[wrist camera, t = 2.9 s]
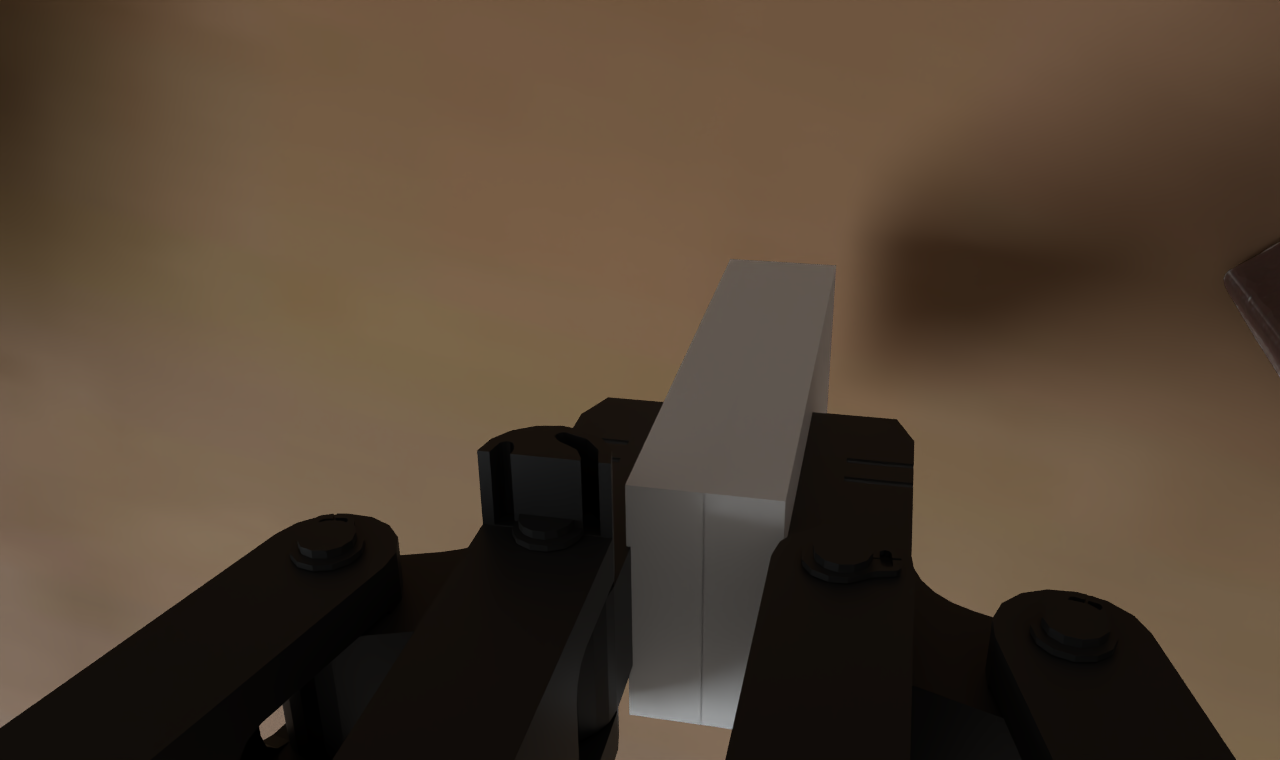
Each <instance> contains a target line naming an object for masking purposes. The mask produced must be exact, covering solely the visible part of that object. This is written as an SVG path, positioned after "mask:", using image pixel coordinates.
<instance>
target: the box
mask: <svg viewBox="0 0 1280 760" xmlns="http://www.w3.org/2000/svg"><path fill="white" fill-rule="evenodd" d="M1224 284H1225V287H1226V289H1227V291H1228V293H1229V295H1230V297H1231V298H1232V300H1233V302H1234V303H1235V305H1236V307H1237V308H1238V310H1239V312H1240V313H1241V315H1242V317H1243V318H1244V320H1245V322H1246V324H1247V325H1248V327H1249V329H1250V330H1251V332H1252V334H1253V335H1254V337H1255V339H1256V340H1257V342H1258V343H1259V345H1260V347H1261V348H1262V350H1263V351H1264V353H1265V355H1266V356H1267V358H1268V359H1269V361H1270V362H1271V364H1272V366H1273V367H1274V369H1275V370H1276V372H1277V374H1278V375H1279V377H1280V242H1279V243H1277V244H1274V245H1272V246H1271V247H1269V248H1268V249H1266V250H1264V251H1263V252H1262V253H1260V254H1259V255H1257V256H1255V257H1253V258H1251V259H1249V260H1247V261H1245V262H1243V263H1242V264H1240V265H1238V266H1236V267H1234V268H1232V269H1231V270H1229V271H1228V272H1227V273H1226V274H1225V277H1224Z"/></svg>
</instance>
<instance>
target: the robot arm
mask: <svg viewBox="0 0 1280 760" xmlns="http://www.w3.org/2000/svg"><path fill="white" fill-rule="evenodd" d="M835 275H836V265H820V264H804V263H787V262H771V261H755V260H738V259H730V261H729V263H728V265H727V267H726V270H725V272H724V274H723V276H722V278H721V280H720V282H719V285H718V287H717V289H716V291H715V293H714V295H713V298H712V300H711V302H710V304H709V306H708V308H707V310H706V313H705V315H704V317H703V319H702V321H701V323H700V325H699V328H698V330H697V332H696V334H695V336H694V338H693V340H692V343H691V345H690V347H689V349H688V351H687V353H686V355H685V358H684V360H683V362H682V364H681V366H680V368H679V370H678V373H677V375H676V377H675V379H674V381H673V383H672V385H671V388H670V390H669V392H668V394H667V396H666V398H665V400H664V402H655V401H643V400H632V399H620V398H609V397H608V398H607V399H605V400H603V401H602V402H600V403H599V404H597V405H595V406H594V407H592V408H591V409H589V410H587V411H586V412H584V413H582V414H581V416H580V417H579V419H578V421H577V422H576V424H575V426H574V427H573V428H570V427H565V426H533V427H528V428H522V429H517V430H512V431H509V432H507V433H504V434H502V435H499V436H497V437H495V438H492V439H490V440H489V441H488V442H487V443H486V444H484V445H483V446H482V447H481V448H480V449H479V450H477V454H478V466H479V479H480V491H481V504H482V517H483V525H482V527H481V528H480V530H479V531H478V533H477V534H476V536H475V538H474V539H473V541H472V542H471V544H470V545H469V547H468V548H465V549H459V550H453V551H446V552H436V553H424V554H411V555H400V551H399V542H398V537H397V535H396V534H395V533H394V531H393V530H392V528H391V527H390V526H389V525H388V524H386V523H383V522H381V521H379V520H377V519H375V518H373V517H368V516H361V515H353V514H337V515H334V514H329V515H321V516H318V517H316V518H313V519H309V520H306V521H302V522H298V523H296V524H294V525H292V526H290V527H288V528H286V529H284V530H282V531H281V532H279V533H277V534H275V535H274V536H272V537H271V538H269V539H268V540H267V541H265V542H264V543H262V544H261V545H259V546H258V547H257V548H255V549H254V550H252V551H251V552H249V553H248V554H247V555H245V556H244V557H242V558H241V559H240V560H238V561H237V562H235V563H234V564H232V565H231V566H230V567H228V568H227V569H225V570H224V571H223V572H221V573H220V574H218V575H217V576H215V577H214V578H213V579H211V580H210V581H208V582H207V583H206V584H204V585H203V586H201V587H200V588H198V589H197V590H196V591H194V592H193V593H191V594H190V595H188V596H187V597H186V598H184V599H183V600H181V601H180V602H179V603H177V604H176V605H174V606H173V607H171V608H170V609H169V610H167V611H166V612H164V613H163V614H162V615H160V616H159V617H157V618H156V619H154V620H153V621H152V622H150V623H149V624H147V625H146V626H145V627H143V628H142V629H140V630H139V631H137V632H136V633H135V634H133V635H132V636H130V637H129V638H127V639H126V640H125V641H123V642H122V643H120V644H119V645H118V646H116V647H115V648H113V649H112V650H110V651H109V652H108V653H106V654H105V655H103V656H102V657H101V658H99V659H98V660H96V661H95V662H93V663H92V664H91V665H89V666H88V667H86V668H85V669H84V670H82V671H81V672H79V673H78V674H76V675H75V676H74V677H72V678H71V679H69V680H68V681H66V682H65V683H64V684H62V685H61V686H59V687H58V688H57V689H55V690H54V691H52V692H51V693H49V694H48V695H47V696H45V697H44V698H42V699H41V700H40V701H38V702H37V703H35V704H34V705H32V706H31V707H30V708H28V709H27V710H25V711H24V712H23V713H21V714H20V715H18V716H17V717H15V718H14V719H13V720H11V721H10V722H8V723H7V724H5V725H4V726H3V727H1V728H0V760H615V757H616V754H617V751H618V740H619V718H618V706H619V703H620V700H621V697H622V695H623V692H624V689H625V686H626V683H627V680H628V678H629V710H630V715H637V716H644V717H651V718H658V719H665V720H672V721H679V722H686V723H693V724H700V725H707V726H713V727H720V728H727V729H732V733H731V737H730V742H729V746H728V751H727V755H726V760H1236V759H1235V757H1234V756H1233V754H1232V753H1231V751H1230V750H1229V748H1228V747H1227V745H1226V744H1225V742H1224V741H1223V739H1222V738H1221V736H1220V735H1219V733H1218V732H1217V730H1216V729H1215V727H1214V726H1213V724H1212V723H1211V721H1210V720H1209V718H1208V717H1207V715H1206V714H1205V712H1204V711H1203V709H1202V708H1201V706H1200V705H1199V704H1198V702H1197V701H1196V699H1195V698H1194V696H1193V695H1192V693H1191V692H1190V690H1189V689H1188V687H1187V686H1186V684H1185V683H1184V681H1183V680H1182V678H1181V677H1180V675H1179V674H1178V672H1177V671H1176V669H1175V668H1174V666H1173V665H1172V663H1171V662H1170V660H1169V659H1168V657H1167V656H1166V654H1165V653H1164V651H1163V650H1162V648H1161V647H1160V645H1159V644H1158V642H1157V641H1156V639H1155V638H1154V636H1153V635H1152V633H1151V632H1150V631H1149V630H1148V629H1147V628H1146V627H1145V626H1144V625H1143V624H1142V623H1141V622H1140V621H1139V620H1138V619H1137V618H1136V617H1135V616H1133V615H1132V614H1130V613H1128V612H1126V611H1124V610H1123V609H1121V608H1119V607H1117V606H1115V605H1114V604H1112V603H1110V602H1108V601H1105V600H1102V599H1099V598H1096V597H1093V596H1088V595H1087V594H1082V593H1079V592H1071V591H1058V590H1041V591H1034V592H1027V593H1021V594H1019V595H1017V596H1015V597H1013V598H1011V599H1009V600H1007V601H1005V602H1003V603H1002V604H1001V605H1000V607H999V609H998V610H997V612H996V614H995V615H994V617H990V616H987V615H984V614H981V613H978V612H975V611H972V610H969V609H967V608H964V607H962V606H959V605H957V604H954V603H952V602H950V601H948V600H947V599H945V598H943V597H942V596H940V595H938V594H937V593H935V592H934V591H933V590H932V589H930V588H929V587H928V586H927V585H926V584H925V583H924V582H923V581H922V580H921V579H920V577H919V576H918V574H917V573H916V571H915V569H914V567H913V562H912V557H911V552H912V510H913V466H914V440H913V439H912V438H911V437H910V435H909V434H908V433H907V432H906V430H905V429H904V428H903V427H902V425H901V424H900V423H899V422H898V420H897V419H886V418H874V417H863V416H851V415H840V414H828V413H827V404H828V388H829V372H830V356H831V340H832V324H833V307H834V291H835ZM282 704H283V710H284V716H285V721H286V724H285V725H283V726H282V727H281V728H280V729H279V730H278V731H277V732H276V733H275V734H274V735H272V736H270V737H268V738H267V739H265V740H263V739H262V737H261V735H260V730H259V725H260V724H261V723H262V722H263V721H264V720H265V719H267V718H268V717H269V716H270V715H271V714H272V713H273V712H275V711H276V710H277V709H278V708H279V707H280V706H281V705H282Z"/></svg>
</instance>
